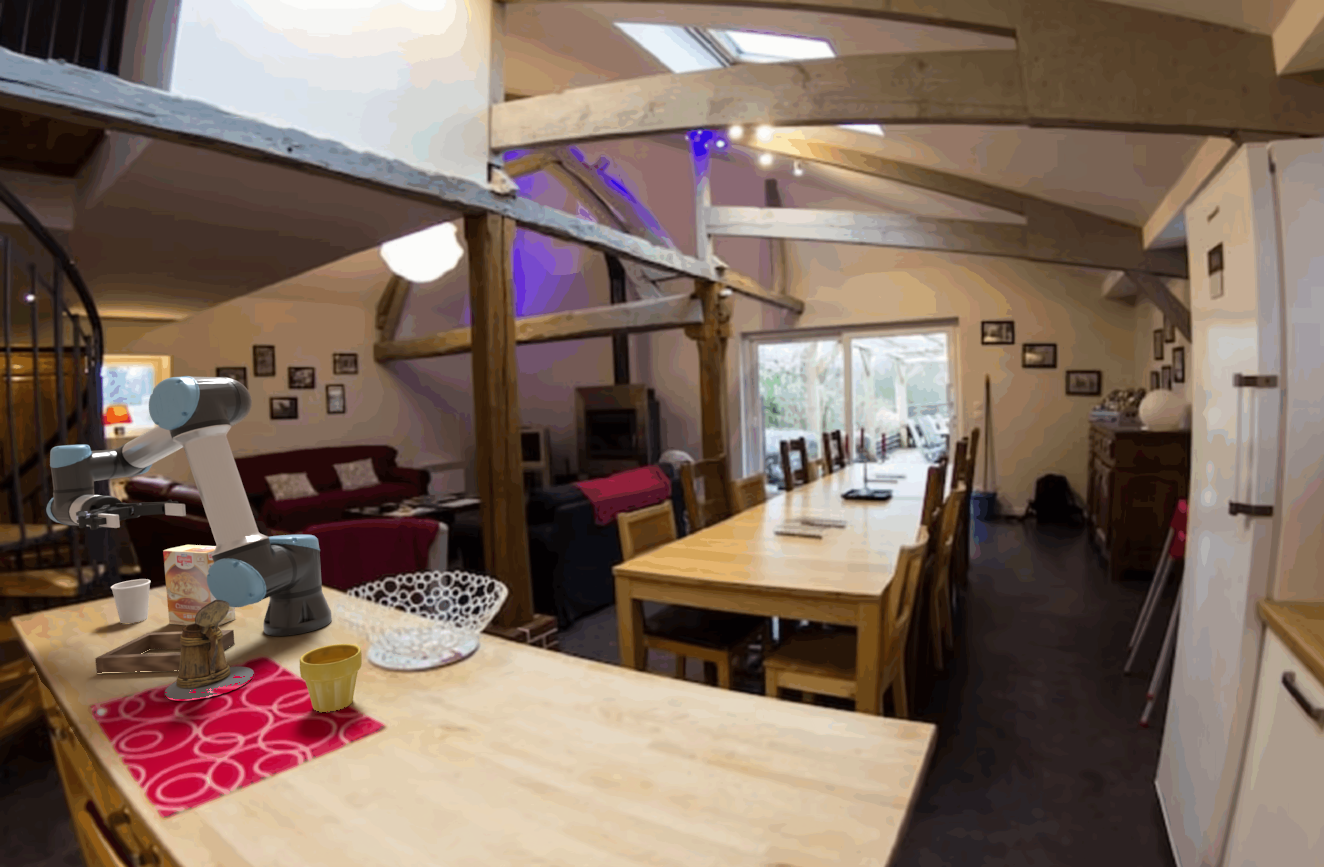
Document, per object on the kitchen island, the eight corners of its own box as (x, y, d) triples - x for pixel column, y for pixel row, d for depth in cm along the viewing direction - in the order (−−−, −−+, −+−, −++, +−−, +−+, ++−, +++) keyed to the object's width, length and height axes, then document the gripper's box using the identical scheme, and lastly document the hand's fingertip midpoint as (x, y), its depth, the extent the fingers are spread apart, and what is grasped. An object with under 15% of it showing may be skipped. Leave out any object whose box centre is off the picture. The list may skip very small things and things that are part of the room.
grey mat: (269, 667, 145) (268, 665, 145) (224, 700, 130) (224, 697, 130) (198, 670, 145) (198, 667, 145) (145, 703, 130) (145, 700, 130)
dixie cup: (122, 617, 183) (119, 581, 182) (159, 613, 185) (156, 577, 184) (107, 627, 175) (104, 589, 174) (146, 623, 177) (142, 585, 177)
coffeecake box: (167, 624, 176) (161, 550, 175) (193, 615, 183) (188, 543, 181) (211, 628, 172) (205, 552, 170) (237, 619, 178) (231, 545, 177)
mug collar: (234, 644, 160) (233, 629, 160) (191, 670, 145) (189, 654, 145) (148, 647, 160) (147, 632, 159) (96, 674, 145) (95, 658, 144)
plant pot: (374, 692, 131) (371, 642, 131) (345, 718, 121) (341, 664, 120) (324, 691, 132) (320, 642, 132) (290, 717, 122) (286, 664, 121)
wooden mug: (197, 698, 130) (189, 606, 129) (169, 682, 138) (162, 595, 136) (247, 681, 137) (240, 593, 136) (218, 667, 145) (211, 584, 144)
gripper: (156, 517, 173) (209, 521, 164) (34, 538, 150) (87, 544, 142) (154, 487, 173) (207, 490, 164) (30, 504, 150) (84, 508, 141)
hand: (152, 515), depth 153 cm, fingers open, 13 cm apart
